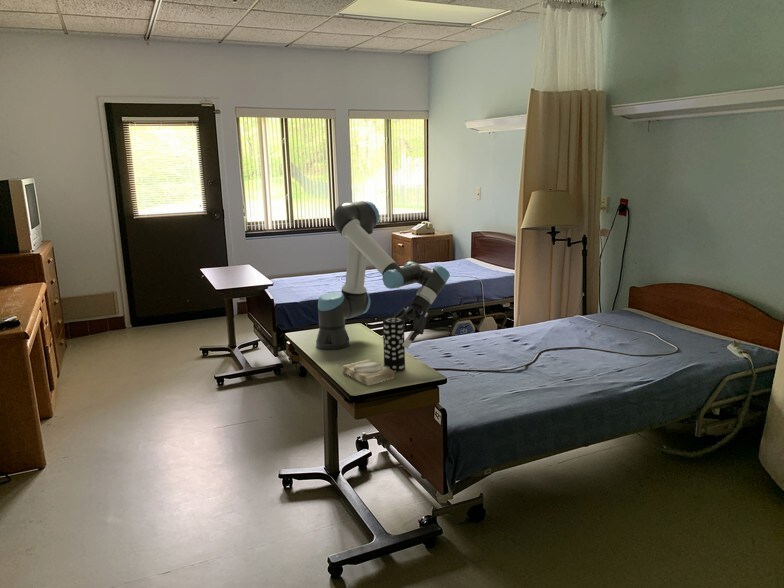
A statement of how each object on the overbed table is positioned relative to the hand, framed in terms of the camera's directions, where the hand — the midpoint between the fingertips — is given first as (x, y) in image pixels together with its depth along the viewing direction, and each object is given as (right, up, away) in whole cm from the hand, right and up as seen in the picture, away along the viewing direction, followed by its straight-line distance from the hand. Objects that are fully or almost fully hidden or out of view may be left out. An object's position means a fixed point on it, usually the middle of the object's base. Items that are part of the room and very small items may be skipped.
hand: (394, 342), depth 232 cm
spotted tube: (0, -11, +3) cm, 11 cm away
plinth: (-10, -12, -4) cm, 16 cm away
